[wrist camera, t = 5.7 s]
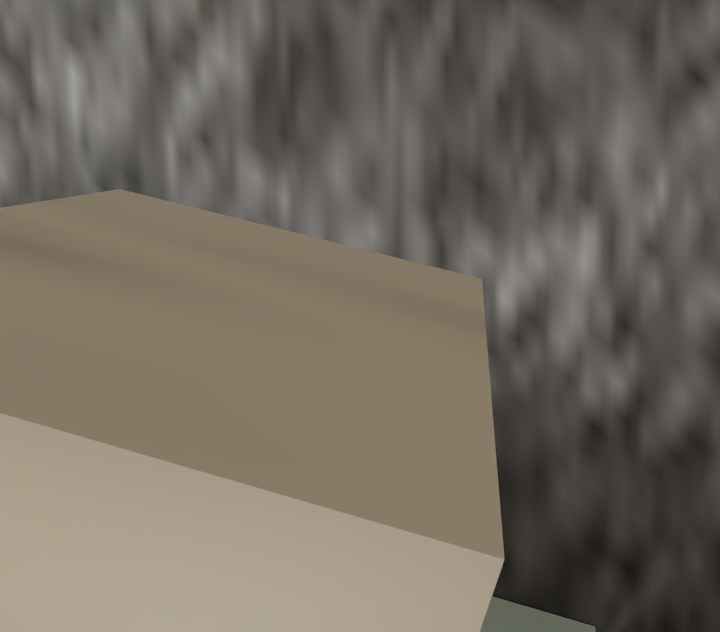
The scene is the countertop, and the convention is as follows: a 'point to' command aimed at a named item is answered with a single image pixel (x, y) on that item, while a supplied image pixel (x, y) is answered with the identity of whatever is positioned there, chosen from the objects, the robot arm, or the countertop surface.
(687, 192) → the countertop surface
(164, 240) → the block
